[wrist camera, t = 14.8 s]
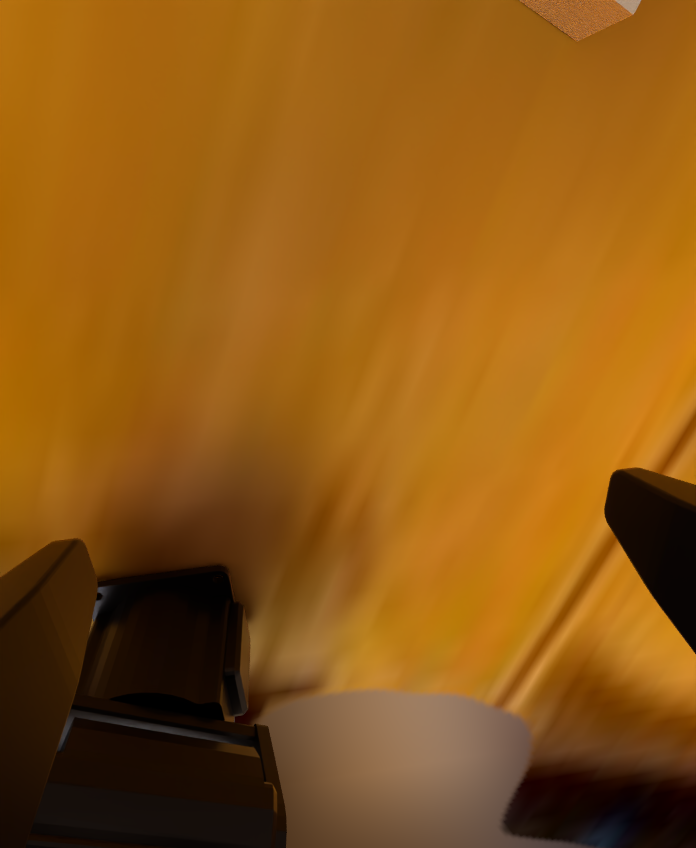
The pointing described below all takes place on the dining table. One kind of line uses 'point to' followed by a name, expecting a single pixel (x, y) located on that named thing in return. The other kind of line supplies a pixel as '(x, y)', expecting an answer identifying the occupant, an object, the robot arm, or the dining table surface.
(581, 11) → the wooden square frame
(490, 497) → the dining table surface
